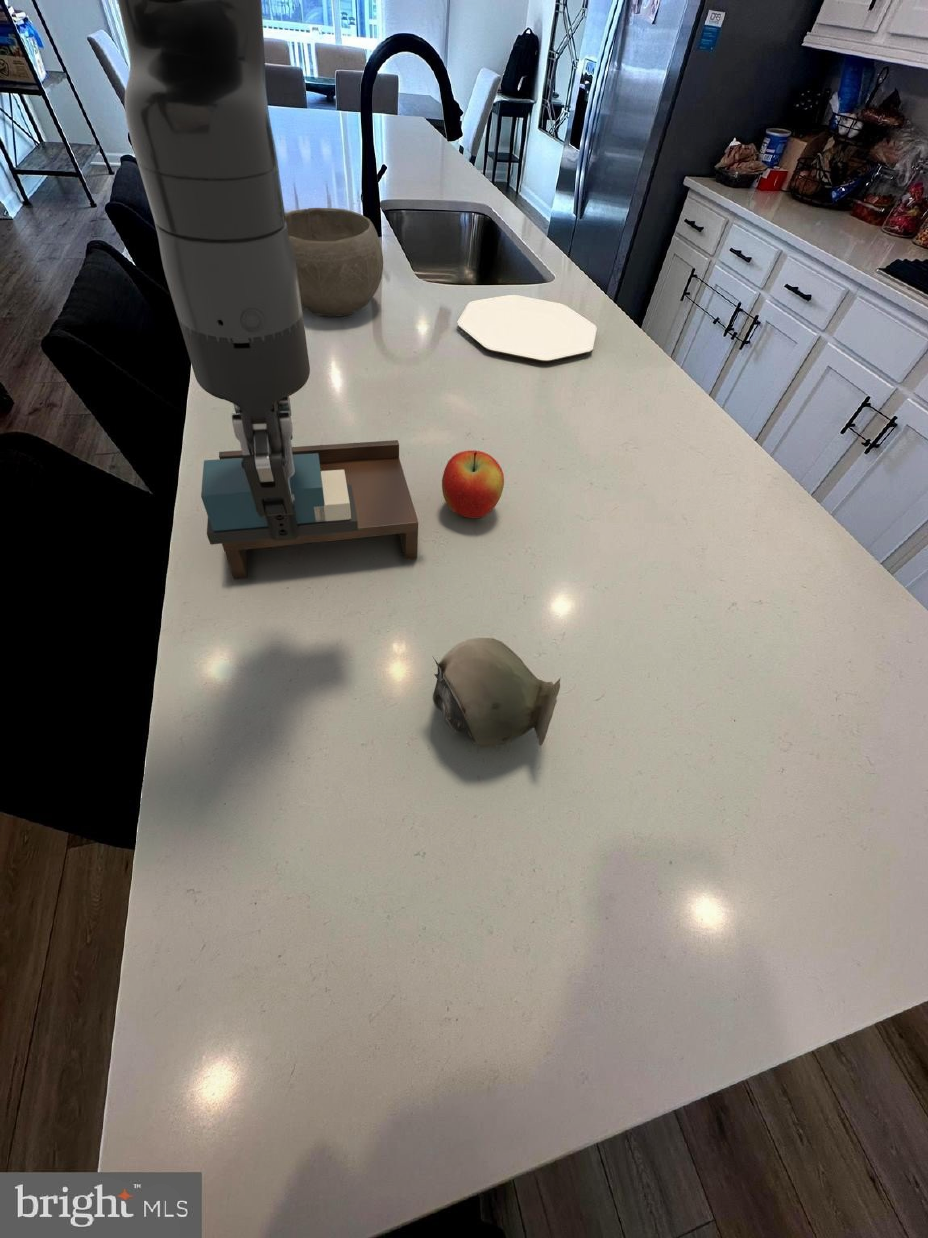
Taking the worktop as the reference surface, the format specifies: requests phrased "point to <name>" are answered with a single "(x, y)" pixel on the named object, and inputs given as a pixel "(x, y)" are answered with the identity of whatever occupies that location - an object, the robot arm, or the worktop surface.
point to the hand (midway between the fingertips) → (284, 514)
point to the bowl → (335, 259)
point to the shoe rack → (374, 493)
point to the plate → (528, 328)
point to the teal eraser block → (317, 493)
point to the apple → (472, 483)
